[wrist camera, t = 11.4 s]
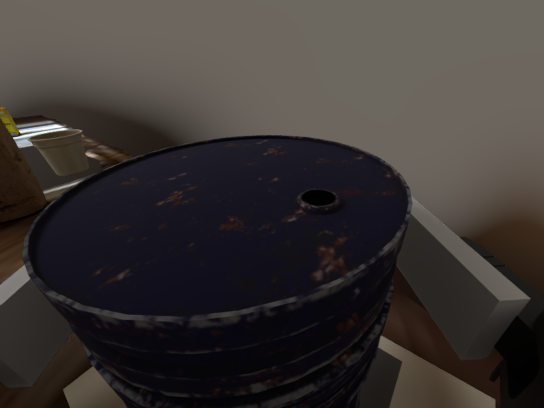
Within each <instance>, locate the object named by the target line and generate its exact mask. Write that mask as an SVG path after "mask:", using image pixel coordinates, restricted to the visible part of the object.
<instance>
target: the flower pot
mask: <svg viewBox="0 0 544 408" xmlns="http://www.w3.org/2000/svg"><path fill="white" fill-rule="evenodd" d="M81 133H82V130H64V131H56V132H49V133H44V134H39V135H35V136H32V137H29V138H28V139H27V140H28V141H31V143H32V144H33V145H34V146H35V147H37V148H38V150H39V151H40V152H41V154H42V155H43V156H44V158H45V159H46V160H47V162H48V163H49V164H50V166H51V167H52V168H53V170H54V171H55V172H56V174H57V175H59V176H70V175H73V174H74V173H82V172H84V171H86V170H88V169H89V164H88V161H87V158H86V154H85V150H84V147H83V143H82V135H81Z"/></svg>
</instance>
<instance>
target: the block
mask: <svg viewBox="0 0 544 408" xmlns="http://www.w3.org/2000/svg"><path fill="white" fill-rule="evenodd" d="M45 205H46V198H45V196H44V193H43V191H42V189H41V187H40V185H39V183H38V181H37V179H36V177H35V175H34V173H33V171H32V169H31V167H30V166H29V164H28V163H27V160H26V159H25V157H24V156H23V154H22V152H21V151H20V149H19V148H18V146H17V144H16V142H15V141H14V139H13V138H12V136H11V134H10V133H9V131H8V130H7V128H6V126H5V125H4V123H3V122H2V120H1V118H0V223H1V222H6V221H9V220H14V219H18V218H21V217H24V216H27V215H30V214H32V213H35V212H36V211H38V210H41V209H43V208H44V206H45Z"/></svg>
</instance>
